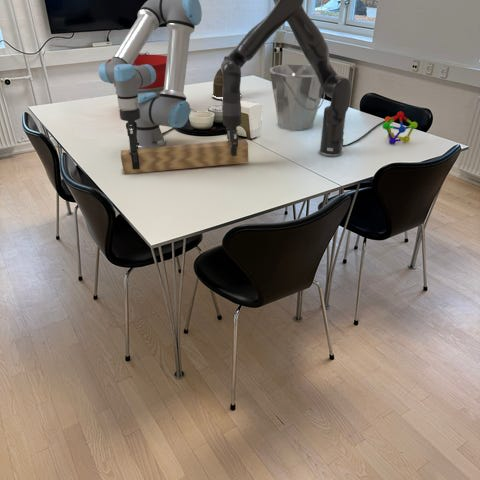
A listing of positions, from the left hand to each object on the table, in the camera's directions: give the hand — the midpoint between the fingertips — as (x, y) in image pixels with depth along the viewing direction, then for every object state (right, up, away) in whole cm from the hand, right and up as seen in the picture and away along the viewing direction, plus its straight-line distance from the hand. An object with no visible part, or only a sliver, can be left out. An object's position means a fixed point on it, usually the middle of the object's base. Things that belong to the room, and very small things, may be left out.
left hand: (136, 164), depth 180 cm
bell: (+34, +60, +102) cm, 123 cm away
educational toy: (+116, +16, +31) cm, 121 cm away
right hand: (+39, +6, +5) cm, 40 cm away
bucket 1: (-11, +40, +69) cm, 80 cm away
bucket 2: (+71, +30, +54) cm, 94 cm away
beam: (+20, 0, +4) cm, 20 cm away
